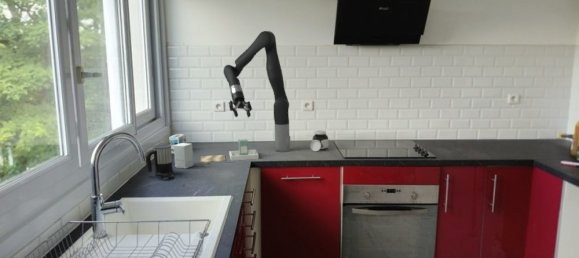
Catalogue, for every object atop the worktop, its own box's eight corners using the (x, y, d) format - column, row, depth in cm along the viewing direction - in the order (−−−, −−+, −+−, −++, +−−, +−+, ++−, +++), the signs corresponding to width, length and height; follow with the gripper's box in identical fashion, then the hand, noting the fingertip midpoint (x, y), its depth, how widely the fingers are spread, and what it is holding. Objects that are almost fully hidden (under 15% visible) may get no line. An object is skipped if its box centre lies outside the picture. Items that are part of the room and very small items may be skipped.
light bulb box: (179, 154, 264) (178, 137, 262) (169, 153, 265) (168, 136, 263) (187, 150, 274) (186, 134, 272) (177, 150, 276) (176, 133, 274)
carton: (247, 155, 253) (246, 139, 252) (248, 157, 248) (247, 141, 247) (239, 156, 252) (238, 139, 251) (239, 158, 247) (239, 141, 246)
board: (224, 156, 255) (224, 154, 255) (225, 161, 242) (225, 160, 241) (200, 157, 252) (200, 156, 252) (200, 163, 239) (200, 161, 239)
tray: (255, 154, 259) (255, 149, 258) (258, 159, 245) (258, 154, 245) (229, 156, 256) (229, 151, 255) (231, 161, 242) (230, 156, 242)
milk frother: (164, 170, 226) (163, 143, 223) (186, 174, 218) (184, 146, 215) (143, 177, 214) (141, 148, 211) (165, 181, 206) (163, 151, 203)
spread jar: (327, 147, 274) (327, 130, 272) (329, 151, 263) (329, 133, 261) (309, 148, 274) (309, 130, 272) (310, 152, 262) (310, 133, 260)
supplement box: (194, 165, 235) (192, 143, 233) (185, 168, 228) (184, 146, 226) (183, 164, 238) (182, 142, 236) (174, 167, 231) (173, 145, 229)
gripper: (229, 89, 255) (235, 113, 249) (249, 91, 263) (255, 113, 257) (224, 96, 260) (230, 119, 254) (244, 97, 269) (250, 119, 263)
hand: (243, 116), depth 256 cm, fingers open, 8 cm apart
